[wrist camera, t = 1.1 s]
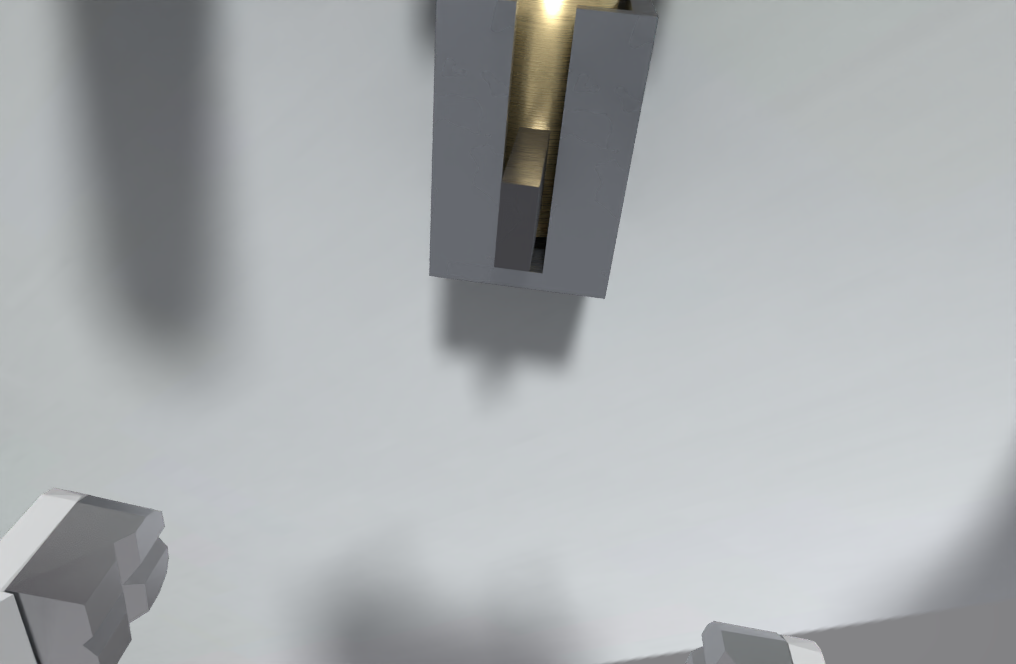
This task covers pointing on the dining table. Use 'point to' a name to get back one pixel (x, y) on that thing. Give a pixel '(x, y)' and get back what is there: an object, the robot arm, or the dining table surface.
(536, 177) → the tube
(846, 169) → the dining table surface
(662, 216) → the dining table surface
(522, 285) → the sleeve
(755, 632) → the robot arm
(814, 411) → the dining table surface
